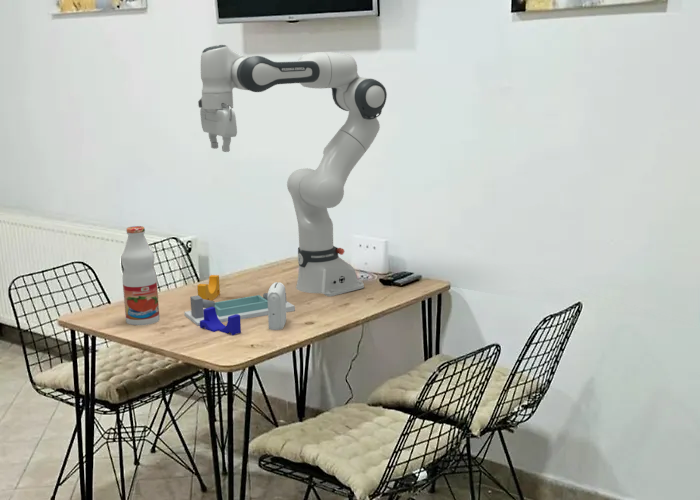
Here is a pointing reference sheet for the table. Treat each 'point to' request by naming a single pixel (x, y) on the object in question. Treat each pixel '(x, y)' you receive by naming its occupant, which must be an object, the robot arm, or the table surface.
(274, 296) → the photo printer
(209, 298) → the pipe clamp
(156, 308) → the fruit juice
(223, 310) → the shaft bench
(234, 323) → the blue curved cradle
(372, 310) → the table surface
